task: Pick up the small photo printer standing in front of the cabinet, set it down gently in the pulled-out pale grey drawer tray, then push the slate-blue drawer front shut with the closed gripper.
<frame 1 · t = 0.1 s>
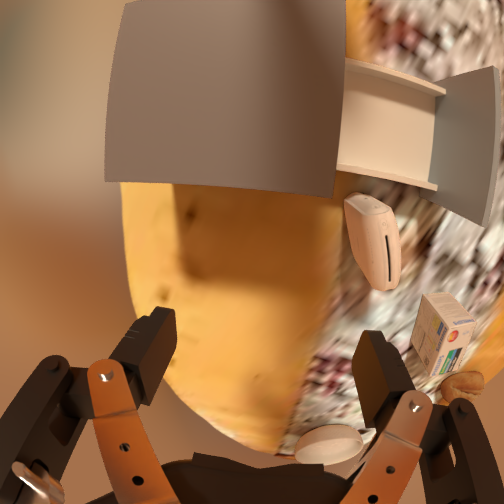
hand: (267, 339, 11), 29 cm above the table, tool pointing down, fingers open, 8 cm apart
bread roll: (459, 377, 49), on the table
cereal bowl: (327, 431, 58), on the table
drawer tray: (397, 119, 25), point 8 cm above the table, slide at 17.0 cm
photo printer: (359, 225, 38), on the table
light bulb box: (429, 315, 43), on the table
cabinet: (244, 105, 34), on the table
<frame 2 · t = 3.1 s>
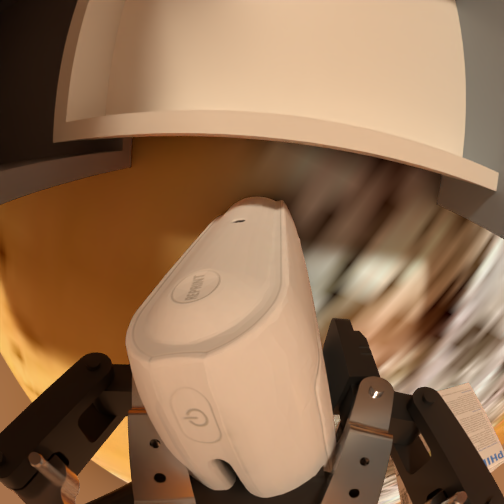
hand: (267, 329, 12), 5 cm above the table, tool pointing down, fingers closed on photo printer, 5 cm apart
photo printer: (271, 279, 16), on the table, touching gripper
light bulb box: (427, 417, 21), on the table
cabinet: (39, 57, 11), on the table
when the fingers open (8 cm above the table, at t = 9.0 s): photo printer drops 1 cm, resting on drawer tray.
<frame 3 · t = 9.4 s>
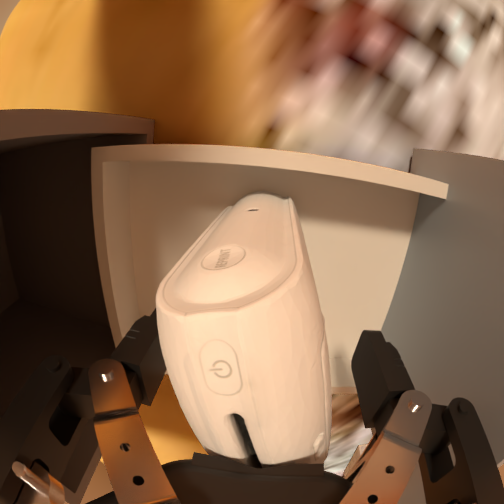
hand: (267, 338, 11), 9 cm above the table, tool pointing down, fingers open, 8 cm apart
drawer tray: (261, 333, 11), point 8 cm above the table, slide at 16.9 cm, touching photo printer
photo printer: (272, 270, 17), point 2 cm above the table, touching drawer tray
cabinet: (61, 234, 20), on the table
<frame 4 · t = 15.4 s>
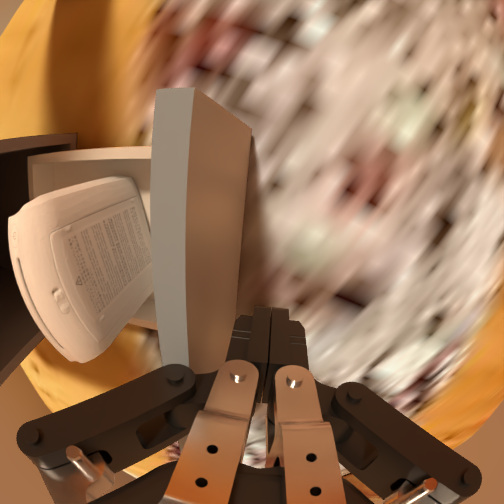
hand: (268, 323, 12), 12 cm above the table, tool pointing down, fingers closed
bread roll: (368, 471, 41), on the table
drawer tray: (88, 259, 17), point 8 cm above the table, slide at 16.2 cm, touching gripper, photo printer
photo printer: (132, 231, 22), point 2 cm above the table, touching drawer tray
cabinet: (27, 214, 25), on the table
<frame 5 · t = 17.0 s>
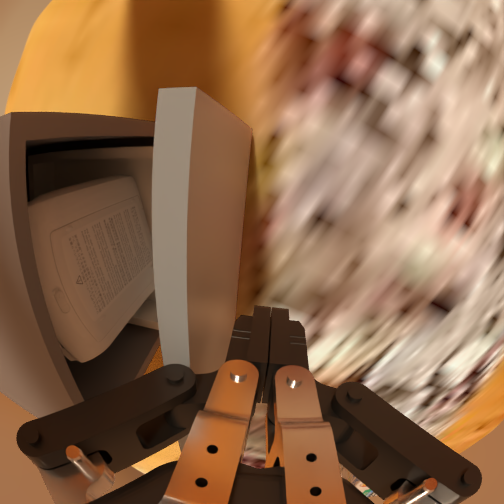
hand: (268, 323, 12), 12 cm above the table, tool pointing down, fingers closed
drawer tray: (88, 258, 17), point 8 cm above the table, slide at 4.7 cm, touching gripper, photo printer
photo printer: (132, 230, 22), point 2 cm above the table, touching drawer tray
light bulb box: (363, 433, 34), on the table
cabinet: (91, 220, 25), on the table
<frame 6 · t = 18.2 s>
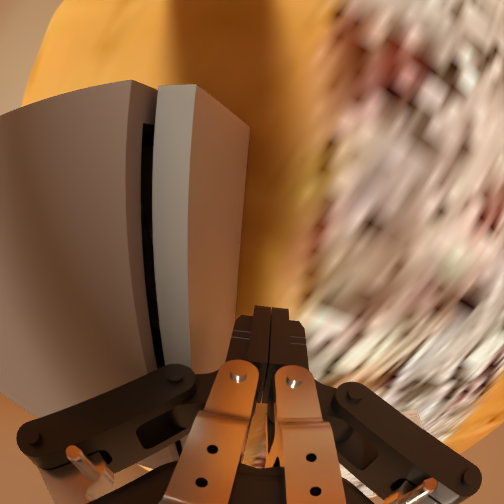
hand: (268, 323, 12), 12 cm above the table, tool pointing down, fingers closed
drawer tray: (88, 258, 17), point 8 cm above the table, slide at -0.1 cm, touching gripper, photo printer
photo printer: (131, 230, 22), point 2 cm above the table, touching drawer tray
cabinet: (129, 223, 24), on the table
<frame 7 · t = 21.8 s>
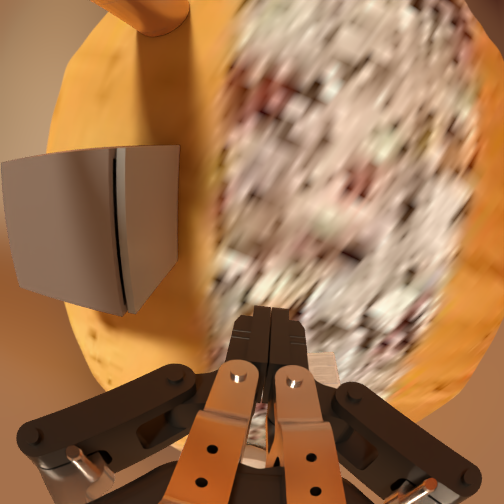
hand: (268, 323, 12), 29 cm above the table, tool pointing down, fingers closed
cereal bowl: (246, 449, 65), on the table
drawer tray: (95, 214, 33), point 8 cm above the table, slide at 0.0 cm, touching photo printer
light bulb box: (314, 370, 51), on the table
cabinet: (118, 201, 41), on the table
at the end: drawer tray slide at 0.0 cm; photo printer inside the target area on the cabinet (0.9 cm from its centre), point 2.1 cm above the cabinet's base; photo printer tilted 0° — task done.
